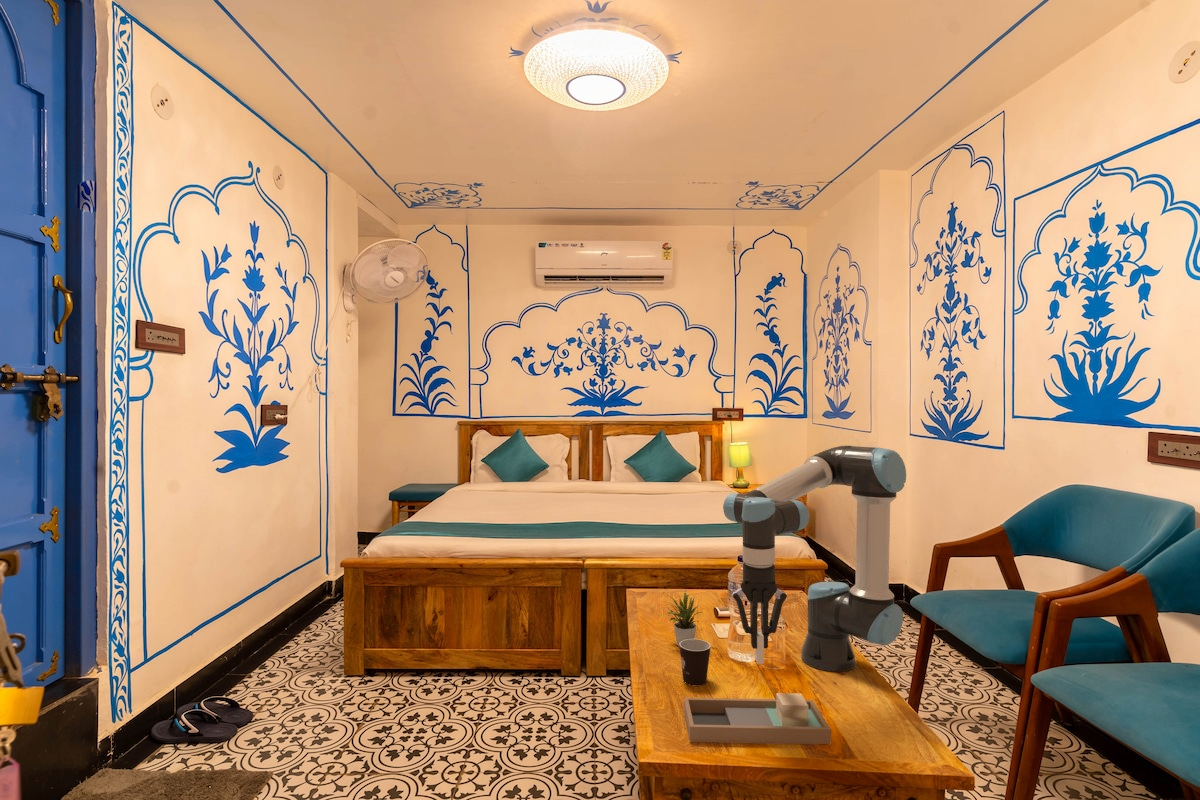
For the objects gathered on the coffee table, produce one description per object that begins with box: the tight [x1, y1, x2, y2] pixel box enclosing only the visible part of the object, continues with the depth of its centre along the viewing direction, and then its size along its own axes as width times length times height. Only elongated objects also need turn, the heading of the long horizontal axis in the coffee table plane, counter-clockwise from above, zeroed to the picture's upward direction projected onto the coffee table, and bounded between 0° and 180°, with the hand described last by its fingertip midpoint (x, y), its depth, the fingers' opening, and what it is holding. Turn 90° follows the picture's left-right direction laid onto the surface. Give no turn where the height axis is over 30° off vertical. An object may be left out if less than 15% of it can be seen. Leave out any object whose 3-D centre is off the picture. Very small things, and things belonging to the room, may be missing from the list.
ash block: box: [775, 692, 808, 727], centre depth 153 cm, size 6×6×5 cm
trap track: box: [683, 697, 832, 745], centre depth 154 cm, size 32×14×4 cm, turn 88°
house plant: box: [665, 590, 704, 648], centre depth 205 cm, size 14×14×16 cm
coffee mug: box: [678, 638, 711, 686], centre depth 180 cm, size 12×9×10 cm
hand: (759, 661), depth 154 cm, fingers closed
